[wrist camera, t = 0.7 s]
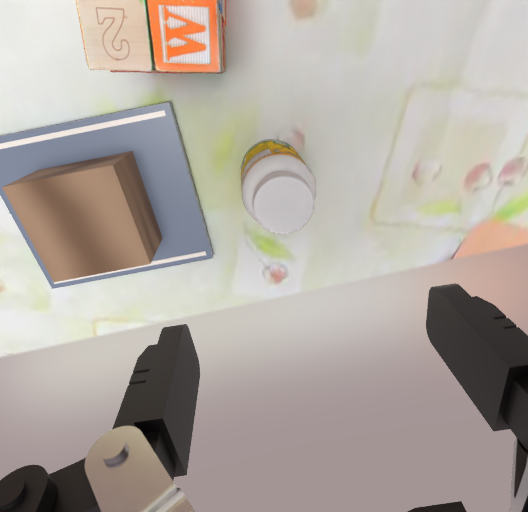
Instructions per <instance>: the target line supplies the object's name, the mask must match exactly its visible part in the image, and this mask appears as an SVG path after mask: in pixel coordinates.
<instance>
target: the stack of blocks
mask: <svg viewBox="0 0 528 512" xmlns="http://www.w3.org/2000/svg"><path fill="white" fill-rule="evenodd" d="M76 4H77V9H78V15H79V21H80V27H81V32H82V38H83V43H84V49H85V54H86V60H87V64H88V67H89V69H91V70H110V71H111V72H146V73H223V72H225V71H226V56H225V26H226V0H76Z"/></svg>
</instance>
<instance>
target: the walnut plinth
mask: <svg viewBox="0 0 528 512" xmlns="http://www.w3.org/2000/svg"><path fill="white" fill-rule="evenodd" d="M2 188H3V190H4V192H5V194H6V196H7V197H8V199H9V201H10V203H11V205H12V207H13V208H14V210H15V212H16V214H17V216H18V218H19V219H20V221H21V223H22V225H23V227H24V229H25V230H26V232H27V234H28V236H29V238H30V240H31V241H32V243H33V245H34V247H35V249H36V251H37V252H38V254H39V256H40V258H41V260H42V262H43V263H44V265H45V267H46V269H47V271H48V273H49V274H50V276H51V278H52V280H53V282H59V281H64V280H69V279H75V278H80V277H85V276H90V275H96V274H101V273H106V272H111V271H117V270H122V269H127V268H132V267H138V266H143V265H148V264H151V262H152V260H153V258H154V256H155V253H156V251H157V249H158V247H159V245H160V243H161V241H162V235H161V232H160V229H159V226H158V223H157V220H156V218H155V215H154V212H153V209H152V206H151V203H150V200H149V197H148V195H147V192H146V189H145V186H144V183H143V180H142V177H141V175H140V172H139V169H138V166H137V163H136V160H135V157H134V154H133V152H132V151H130V152H125V153H120V154H115V155H110V156H105V157H100V158H95V159H90V160H85V161H80V162H75V163H70V164H65V165H60V166H55V167H50V168H45V169H40V170H37V171H35V172H33V173H31V174H28V175H26V176H24V177H22V178H20V179H18V180H16V181H14V182H12V183H10V184H8V185H5V186H3V187H2Z"/></svg>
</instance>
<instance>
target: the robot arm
mask: <svg viewBox="0 0 528 512" xmlns="http://www.w3.org/2000/svg"><path fill="white" fill-rule="evenodd" d="M426 329H427V334H428V337H429V339H430V342H431V343H432V345H433V346H434V348H435V349H436V350H437V352H438V353H439V355H440V356H441V358H442V359H443V360H444V362H445V363H446V365H447V366H448V367H449V369H450V370H451V372H452V373H453V375H454V376H455V377H456V379H457V380H458V382H459V383H460V384H461V386H462V387H463V389H464V390H465V392H466V393H467V394H468V396H469V397H470V399H471V400H472V401H473V403H474V404H475V406H476V407H477V409H478V410H479V411H480V413H481V414H482V416H483V417H484V418H485V420H486V421H487V422H488V424H489V425H490V427H491V428H492V430H493V431H498V430H505V429H511V430H512V432H513V433H514V434H515V436H516V439H515V442H514V454H513V468H512V483H511V498H510V509H509V512H528V336H527V335H526V334H525V333H524V332H523V331H522V330H521V329H520V328H517V327H516V325H515V324H514V323H513V322H512V321H511V320H510V319H509V318H506V316H505V315H504V314H503V313H502V312H501V311H500V310H499V309H498V308H497V307H496V306H494V305H493V304H491V303H489V302H487V301H485V300H483V299H481V298H479V297H477V296H475V297H471V296H470V295H469V294H468V293H467V292H466V291H465V290H464V289H463V288H462V287H461V286H459V285H458V284H449V285H442V286H436V287H431V289H430V291H429V298H428V309H427V320H426ZM199 379H200V367H199V361H198V357H197V353H196V350H195V347H194V344H193V340H192V338H191V334H190V331H189V328H188V326H187V325H186V324H184V325H178V326H171V327H164V328H163V329H162V331H161V334H160V337H159V341H158V344H156V345H150V346H148V347H147V348H146V349H145V351H144V352H143V353H142V354H141V355H140V356H139V358H138V360H137V362H136V365H135V368H134V371H133V374H132V376H131V379H130V382H129V386H128V388H127V390H126V393H125V396H124V398H123V401H122V404H121V407H120V410H119V413H118V416H117V418H116V421H115V424H114V426H113V429H112V430H111V431H109V432H107V433H106V434H104V435H103V436H102V437H100V438H99V439H98V440H97V441H96V442H95V444H94V445H93V446H92V447H91V449H90V450H89V452H88V454H87V457H86V458H84V459H82V460H80V461H78V462H76V463H74V464H72V465H70V466H67V467H65V468H63V469H60V470H58V471H56V472H54V473H52V474H48V473H47V472H46V470H45V469H44V468H43V467H41V466H39V465H28V466H25V467H22V468H19V469H17V470H15V471H13V472H11V473H10V474H8V475H7V476H5V477H4V478H3V479H2V480H0V512H195V511H194V509H193V507H192V506H191V504H190V503H189V501H188V500H187V498H186V497H185V495H184V494H183V492H182V491H181V489H180V488H177V487H176V485H175V484H174V482H173V479H174V477H177V476H184V475H187V468H188V461H189V453H190V446H191V438H192V431H193V423H194V416H195V409H196V401H197V394H198V386H199ZM408 512H466V510H465V508H464V506H463V504H462V502H461V501H460V502H453V503H447V504H439V505H432V506H426V507H419V508H414V509H412V510H410V511H408Z"/></svg>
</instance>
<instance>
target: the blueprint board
mask: <svg viewBox="0 0 528 512" xmlns="http://www.w3.org/2000/svg"><path fill="white" fill-rule="evenodd" d="M130 151H132V152H133V154H134V157H135V160H136V163H137V166H138V169H139V172H140V175H141V177H142V180H143V183H144V186H145V189H146V192H147V195H148V197H149V200H150V203H151V206H152V209H153V212H154V215H155V218H156V220H157V223H158V226H159V229H160V232H161V235H162V241H161V243H160V245H159V247H158V249H157V251H156V253H155V256H154V258H153V260H152V262H151V264H148V265H143V266H138V267H132V268H127V269H122V270H117V271H111V272H106V273H101V274H96V275H90V276H85V277H80V278H75V279H69V280H64V281H59V282H53V280H52V278H51V276H50V274H49V273H48V271H47V269H46V267H45V265H44V263H43V262H42V260H41V258H40V256H39V254H38V252H37V251H36V249H35V247H34V245H33V243H32V241H31V240H30V238H29V236H28V234H27V232H26V230H25V229H24V227H23V225H22V223H21V221H20V219H19V218H18V216H17V214H16V212H15V210H14V208H13V207H12V205H11V203H10V201H9V199H8V197H7V196H6V194H5V192H4V190H3V188H2V187H3V186H5V185H8V184H10V183H12V182H14V181H16V180H18V179H20V178H22V177H24V176H26V175H28V174H31V173H33V172H35V171H37V170H40V169H45V168H50V167H55V166H60V165H65V164H70V163H75V162H80V161H85V160H90V159H95V158H100V157H105V156H110V155H115V154H120V153H125V152H130ZM0 195H1V197H2V199H3V200H4V202H5V204H6V206H7V208H8V210H9V211H10V213H11V215H12V217H13V219H14V220H15V222H16V224H17V226H18V228H19V229H20V231H21V233H22V235H23V237H24V238H25V240H26V242H27V244H28V246H29V248H30V249H31V251H32V253H33V255H34V257H35V258H36V260H37V262H38V264H39V266H40V267H41V269H42V271H43V273H44V275H45V276H46V278H47V280H48V282H49V284H50V286H51V287H52V289H53V288H59V287H64V286H69V285H74V284H80V283H85V282H90V281H95V280H101V279H106V278H111V277H116V276H122V275H127V274H132V273H138V272H143V271H148V270H153V269H159V268H164V267H169V266H174V265H180V264H185V263H190V262H195V261H201V260H206V259H211V258H213V254H214V253H213V249H212V246H211V242H210V239H209V235H208V232H207V228H206V224H205V221H204V217H203V214H202V210H201V207H200V203H199V199H198V196H197V192H196V189H195V185H194V182H193V178H192V174H191V171H190V167H189V164H188V160H187V157H186V153H185V149H184V146H183V142H182V139H181V135H180V132H179V128H178V124H177V121H176V117H175V114H174V110H173V107H172V103H171V101H170V102H165V103H160V104H155V105H150V106H145V107H140V108H135V109H130V110H125V111H121V112H116V113H111V114H106V115H101V116H96V117H91V118H86V119H81V120H76V121H72V122H67V123H62V124H57V125H52V126H47V127H42V128H37V129H32V130H27V131H22V132H18V133H13V134H8V135H3V136H0Z"/></svg>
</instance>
